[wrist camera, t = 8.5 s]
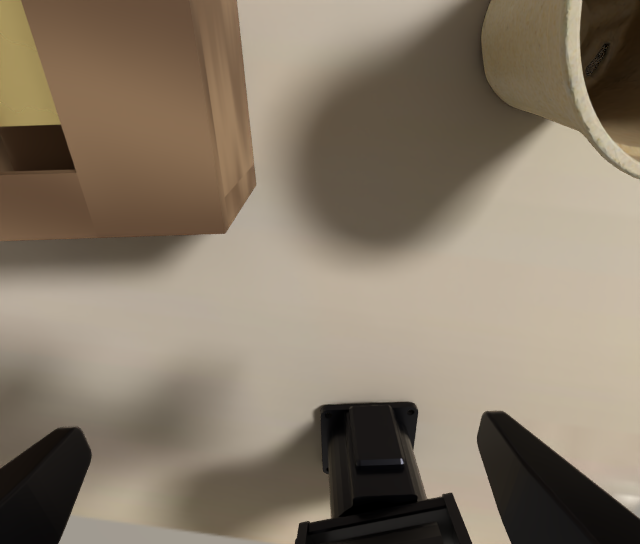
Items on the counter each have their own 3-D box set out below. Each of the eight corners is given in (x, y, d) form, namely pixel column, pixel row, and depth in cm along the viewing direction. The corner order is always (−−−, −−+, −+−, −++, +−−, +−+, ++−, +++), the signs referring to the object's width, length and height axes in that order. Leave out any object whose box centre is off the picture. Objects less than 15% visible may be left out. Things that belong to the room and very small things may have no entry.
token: (137, 116, 16) (67, 124, 11) (82, 118, 16) (-11, 126, 11) (99, -46, 13) (-11, -121, 9) (34, -43, 13) (-110, -118, 9)
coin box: (256, 184, 17) (225, 233, 11) (10, 192, 17) (-160, 246, 11) (218, -167, 12) (119, -451, 6) (-134, -158, 12) (-616, -435, 6)
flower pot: (421, 145, 17) (515, 184, 9) (464, -133, 13) (702, -494, 5) (613, 152, 17) (863, 196, 9) (716, -116, 13) (1309, -431, 5)
